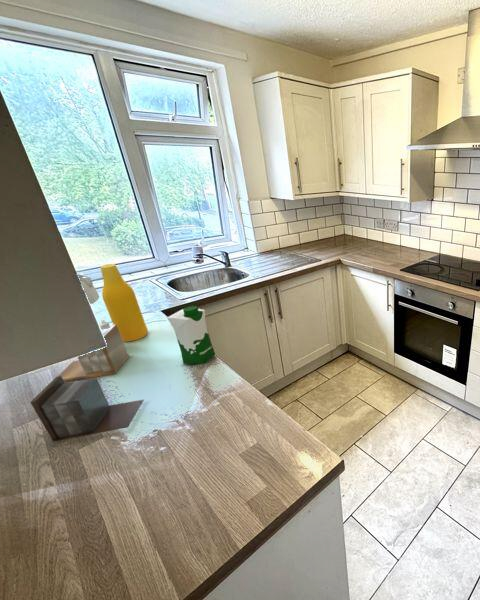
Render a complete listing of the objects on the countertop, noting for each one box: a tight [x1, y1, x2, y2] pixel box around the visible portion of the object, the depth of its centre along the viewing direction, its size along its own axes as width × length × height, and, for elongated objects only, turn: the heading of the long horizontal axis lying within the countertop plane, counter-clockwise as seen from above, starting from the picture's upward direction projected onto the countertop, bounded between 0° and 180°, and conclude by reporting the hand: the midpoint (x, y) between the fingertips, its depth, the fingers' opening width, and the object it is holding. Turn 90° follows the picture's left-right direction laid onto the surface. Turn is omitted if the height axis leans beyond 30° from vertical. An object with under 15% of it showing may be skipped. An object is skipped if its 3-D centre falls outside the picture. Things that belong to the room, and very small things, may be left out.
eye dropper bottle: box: [99, 319, 111, 330], centre depth 117 cm, size 4×6×12 cm
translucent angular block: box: [58, 324, 131, 383], centre depth 106 cm, size 16×11×13 cm
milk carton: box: [166, 305, 216, 366], centre depth 110 cm, size 9×9×20 cm
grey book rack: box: [30, 375, 145, 443], centre depth 85 cm, size 16×11×13 cm
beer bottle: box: [99, 263, 149, 343], centre depth 122 cm, size 9×9×29 cm
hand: (64, 319), depth 101 cm, fingers closed on white book, 2 cm apart
